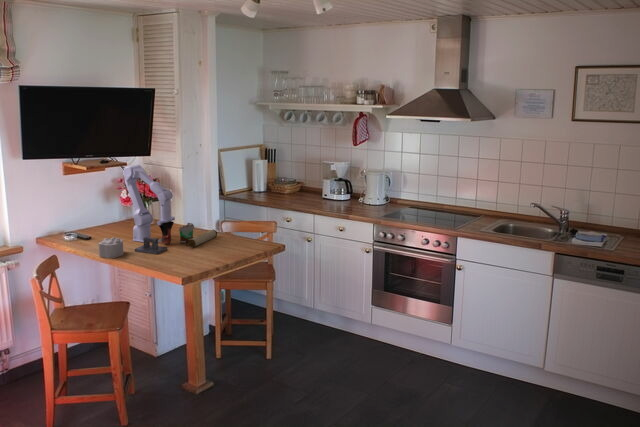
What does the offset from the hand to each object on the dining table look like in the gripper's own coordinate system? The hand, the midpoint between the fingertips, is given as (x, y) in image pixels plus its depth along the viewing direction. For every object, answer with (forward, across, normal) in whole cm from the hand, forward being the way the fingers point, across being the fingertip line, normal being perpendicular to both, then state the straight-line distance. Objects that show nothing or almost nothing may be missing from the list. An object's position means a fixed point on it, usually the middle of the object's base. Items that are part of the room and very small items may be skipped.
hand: (166, 234), depth 342 cm
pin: (+4, -5, 0) cm, 7 cm away
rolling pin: (+6, +12, -16) cm, 21 cm away
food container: (+6, +9, -9) cm, 14 cm away
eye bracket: (+5, -15, 0) cm, 16 cm away
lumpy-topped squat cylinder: (+6, -29, +14) cm, 33 cm away
